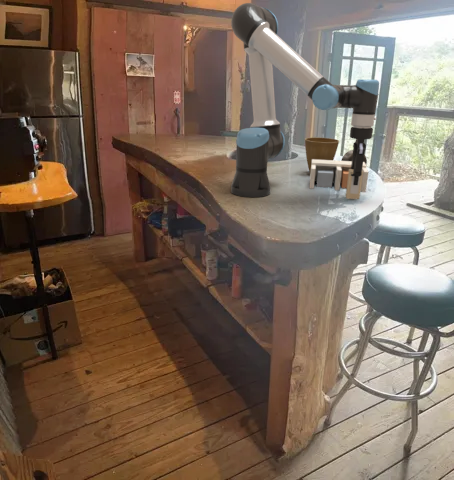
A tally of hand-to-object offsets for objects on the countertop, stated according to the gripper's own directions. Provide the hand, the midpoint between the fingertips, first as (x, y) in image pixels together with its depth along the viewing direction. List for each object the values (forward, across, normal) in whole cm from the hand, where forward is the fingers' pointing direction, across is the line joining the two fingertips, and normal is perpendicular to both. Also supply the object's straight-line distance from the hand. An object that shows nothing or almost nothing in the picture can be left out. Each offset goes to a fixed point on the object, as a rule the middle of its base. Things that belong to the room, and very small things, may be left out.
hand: (353, 191), depth 149 cm
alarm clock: (+3, +35, -3) cm, 35 cm away
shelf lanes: (+2, +16, +5) cm, 17 cm away
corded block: (+2, +8, 0) cm, 9 cm away
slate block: (+2, +16, +10) cm, 19 cm away
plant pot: (+3, +36, +12) cm, 38 cm away
